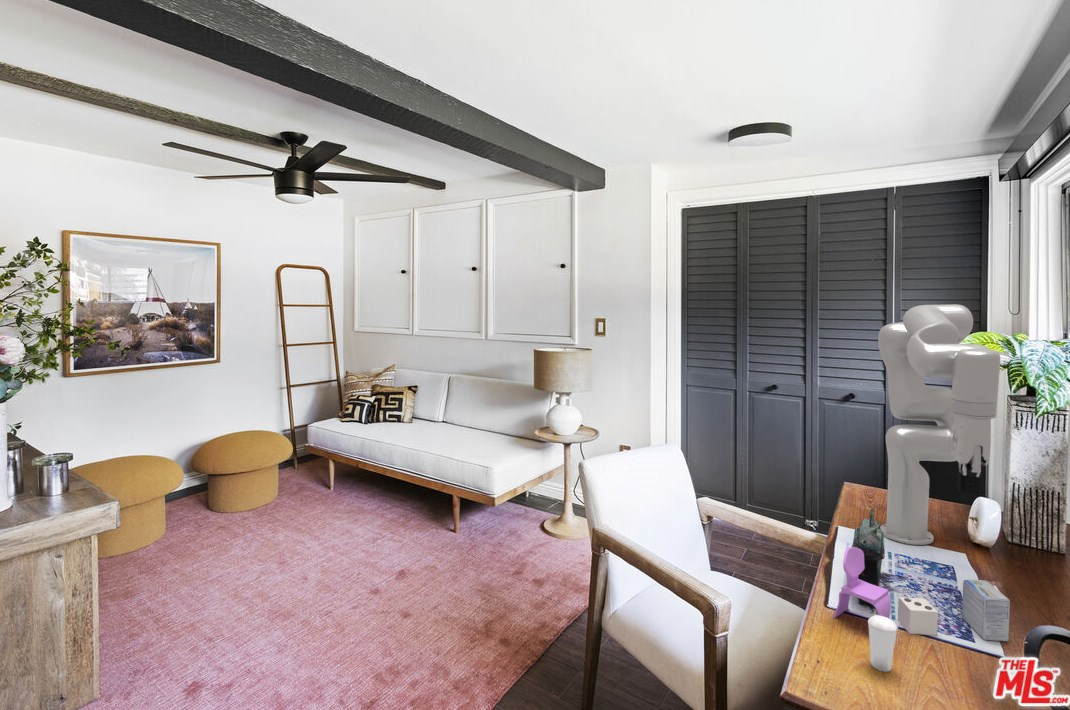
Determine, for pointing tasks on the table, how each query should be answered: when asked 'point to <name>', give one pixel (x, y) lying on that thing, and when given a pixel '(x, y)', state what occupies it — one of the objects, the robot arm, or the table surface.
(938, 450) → the robot arm
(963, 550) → the table surface
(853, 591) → the toy chair
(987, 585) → the medicine box
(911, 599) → the dotted block three
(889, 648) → the milkshake
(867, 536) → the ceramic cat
